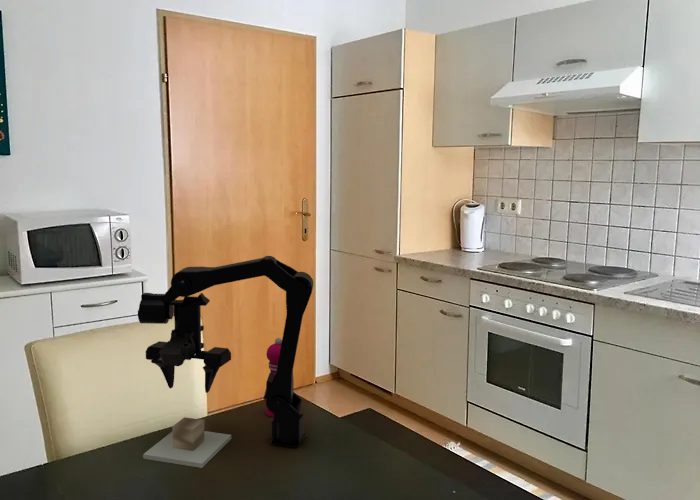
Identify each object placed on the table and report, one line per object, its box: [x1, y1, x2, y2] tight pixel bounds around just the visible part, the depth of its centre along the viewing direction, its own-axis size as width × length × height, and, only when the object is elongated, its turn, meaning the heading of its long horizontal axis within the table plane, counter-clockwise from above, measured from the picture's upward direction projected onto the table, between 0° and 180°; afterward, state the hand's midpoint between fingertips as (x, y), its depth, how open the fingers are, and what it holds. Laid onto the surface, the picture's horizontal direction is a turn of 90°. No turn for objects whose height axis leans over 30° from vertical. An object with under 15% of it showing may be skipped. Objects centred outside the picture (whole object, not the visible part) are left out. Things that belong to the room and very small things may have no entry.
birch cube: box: [171, 416, 205, 451], centre depth 134 cm, size 5×5×5 cm
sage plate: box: [142, 430, 232, 469], centre depth 134 cm, size 14×14×1 cm
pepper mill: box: [263, 337, 282, 418], centre depth 153 cm, size 7×7×20 cm
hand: (189, 390), depth 137 cm, fingers open, 9 cm apart
